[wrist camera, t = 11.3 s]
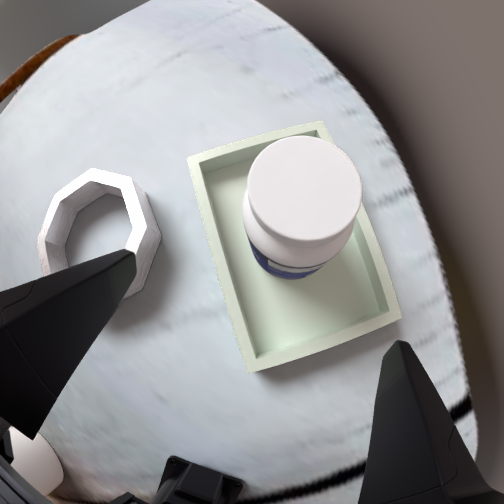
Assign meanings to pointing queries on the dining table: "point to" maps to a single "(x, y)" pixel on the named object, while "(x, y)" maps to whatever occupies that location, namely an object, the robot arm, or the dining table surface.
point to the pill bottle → (300, 205)
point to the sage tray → (280, 290)
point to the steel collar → (81, 195)
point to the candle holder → (36, 462)
